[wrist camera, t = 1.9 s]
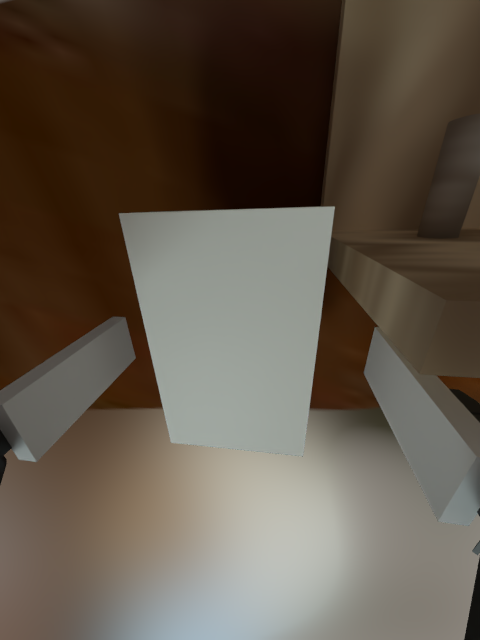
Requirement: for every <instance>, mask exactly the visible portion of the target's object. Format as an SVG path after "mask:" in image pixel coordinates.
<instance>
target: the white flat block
mask: <svg viewBox="0 0 480 640" xmlns="http://www.w3.org/2000/svg"><path fill="white" fill-rule="evenodd" d="M334 210H335V207H330V206H318V207H287V208H256V209H226V210H195V211H164V212H140V213H119V217H120V221H121V225H122V230H123V234H124V239H125V243H126V247H127V252H128V256H129V260H130V265H131V269H132V274H133V278H134V282H135V287H136V291H137V296H138V300H139V304H140V309H141V313H142V318H143V322H144V326H145V331H146V335H147V339H148V344H149V348H150V353H151V357H152V361H153V366H154V370H155V375H156V379H157V383H158V388H159V392H160V396H161V401H162V405H163V410H164V414H165V418H166V423H167V427H168V432H169V436H170V440H171V443H180V444H190V445H200V446H210V447H218V448H228V449H237V450H247V451H256V452H266V453H275V454H285V455H294V456H303V453H304V444H305V437H306V429H307V421H308V414H309V406H310V398H311V390H312V382H313V374H314V367H315V359H316V351H317V343H318V335H319V327H320V320H321V312H322V304H323V296H324V288H325V280H326V273H327V265H328V257H329V249H330V241H331V233H332V226H333V218H334Z"/></svg>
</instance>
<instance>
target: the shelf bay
mask: <svg viewBox="0 0 480 640" xmlns="http://www.w3.org/2000/svg"><path fill="white" fill-rule="evenodd" d="M321 206H330V207H335V210H334V218H333V226H332V233H331V241H330V249H329V257H328V265H327V267H328V268H329V269H330V270H331V271H332V272H333V274H334V275H335V276H336V277H337V278H338V279H339V281H340V282H341V283H342V284H343V285H344V286H345V288H346V289H347V290H348V291H349V292H350V294H351V295H352V296H353V297H354V298H355V299H356V301H357V302H358V303H359V304H360V305H361V306H362V308H363V309H364V310H365V311H366V312H367V313H368V315H369V316H370V317H371V318H372V319H373V320H374V322H375V323H376V324H377V325H378V326H379V327H380V329H381V330H382V331H383V332H384V333H385V334H386V336H387V337H388V338H389V339H390V340H391V342H392V343H393V344H394V345H395V346H396V347H397V349H398V350H399V351H400V352H401V353H402V354H403V356H404V357H405V358H406V359H407V360H408V361H409V363H410V364H411V365H412V366H413V367H414V368H415V370H416V371H417V372H418V373H419V374H422V375H440V376H458V377H475V378H480V0H342V6H341V16H340V25H339V35H338V44H337V54H336V64H335V73H334V83H333V92H332V102H331V112H330V121H329V131H328V140H327V150H326V160H325V169H324V179H323V188H322V198H321Z"/></svg>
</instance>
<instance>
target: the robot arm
mask: <svg viewBox="0 0 480 640" xmlns="http://www.w3.org/2000/svg"><path fill="white" fill-rule="evenodd" d="M135 358H136V357H135V353H134V350H133V346H132V342H131V338H130V334H129V330H128V326H127V323H126V319H125V317H112V318H110V319H109V320H107V321H106V322H104V323H103V324H101V325H99V326H98V327H96V328H95V329H93V330H92V331H90V332H89V333H87V334H86V335H84V336H83V337H81V338H80V339H78V340H77V341H75V342H74V343H72V344H71V345H69V346H67V347H66V348H64V349H63V350H61V351H60V352H58V353H57V354H55V355H54V356H52V357H51V358H49V359H48V360H46V361H45V362H43V363H42V364H40V365H39V366H37V367H35V368H34V369H32V370H31V371H29V372H28V373H26V374H25V375H23V376H22V377H20V378H18V379H17V380H15V381H14V382H13V383H11V384H9V385H8V386H6V387H5V388H3V389H2V390H0V484H1V481H2V477H3V474H4V471H5V467H6V458H5V457H4V454H6V453H7V452H8V451H9V450H10V449H11V448H12V450H13V451H14V453H15V454H16V456H17V457H18V459H21V460H27V461H34V462H37V461H38V460H39V459H40V458H41V457H42V456H43V455H44V454H45V452H46V451H47V450H48V449H49V448H50V447H51V446H52V445H53V444H54V443H55V442H56V441H57V440H58V439H59V438H60V437H61V436H62V435H63V434H64V433H65V432H66V431H67V429H68V428H69V427H70V426H71V425H72V424H73V423H74V422H75V421H76V420H77V419H78V418H79V417H80V416H81V415H82V414H83V413H84V412H85V411H86V410H87V409H88V408H89V406H90V405H91V404H92V403H93V402H94V401H95V400H96V399H97V398H98V397H99V396H100V395H101V394H102V393H103V392H104V391H105V390H106V389H107V388H108V387H109V386H110V385H111V383H112V382H113V381H114V380H115V379H116V378H117V377H118V376H119V375H120V374H121V373H122V372H123V371H124V370H125V369H126V368H127V367H128V366H129V365H130V364H131V363H132V361H133V360H134V359H135ZM364 375H365V377H366V379H367V381H368V383H369V385H370V387H371V389H372V391H373V393H374V395H375V397H376V399H377V401H378V403H379V405H380V407H381V409H382V411H383V413H384V415H385V417H386V419H387V421H388V423H389V425H390V427H391V429H392V430H393V433H394V435H395V437H396V439H397V441H398V442H399V445H400V447H401V449H402V451H403V452H404V454H405V457H406V459H407V460H408V463H409V465H410V467H411V469H412V471H413V472H414V475H415V477H416V479H417V480H418V482H419V484H420V487H421V489H422V490H423V493H424V494H425V496H426V499H427V501H428V502H429V505H430V506H431V509H432V510H433V512H434V514H435V516H436V518H437V520H438V521H439V522H445V523H452V524H459V525H466V526H469V525H470V524H471V522H472V521H473V519H474V518H475V517H476V515H477V514H479V516H480V404H479V403H478V402H477V401H476V400H474V399H472V398H471V397H469V396H468V395H466V394H465V393H463V392H462V391H460V390H455V389H448V388H447V387H446V386H445V385H444V383H443V382H442V381H441V380H440V379H439V378H438V377H437V376H436V375H422V374H419V373H418V372H417V371H416V370H415V368H414V367H413V366H412V365H411V364H410V363H409V361H408V360H407V359H406V358H405V357H404V356H403V354H402V353H401V352H400V351H399V350H398V349H397V347H396V346H395V345H394V344H393V343H392V342H391V340H390V339H389V338H388V337H387V336H386V334H385V333H384V332H383V331H382V330H381V329H380V327H375V329H374V333H373V337H372V341H371V345H370V350H369V354H368V358H367V362H366V366H365V370H364ZM473 552H474V553H475V554H477V555H478V554H479V553H480V541H479V542H478V544H477V545H476V546H475V548H474V549H473ZM464 640H480V559H479V563H478V569H477V574H476V580H475V585H474V591H473V596H472V601H471V607H470V612H469V617H468V623H467V628H466V634H465V639H464Z"/></svg>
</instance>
